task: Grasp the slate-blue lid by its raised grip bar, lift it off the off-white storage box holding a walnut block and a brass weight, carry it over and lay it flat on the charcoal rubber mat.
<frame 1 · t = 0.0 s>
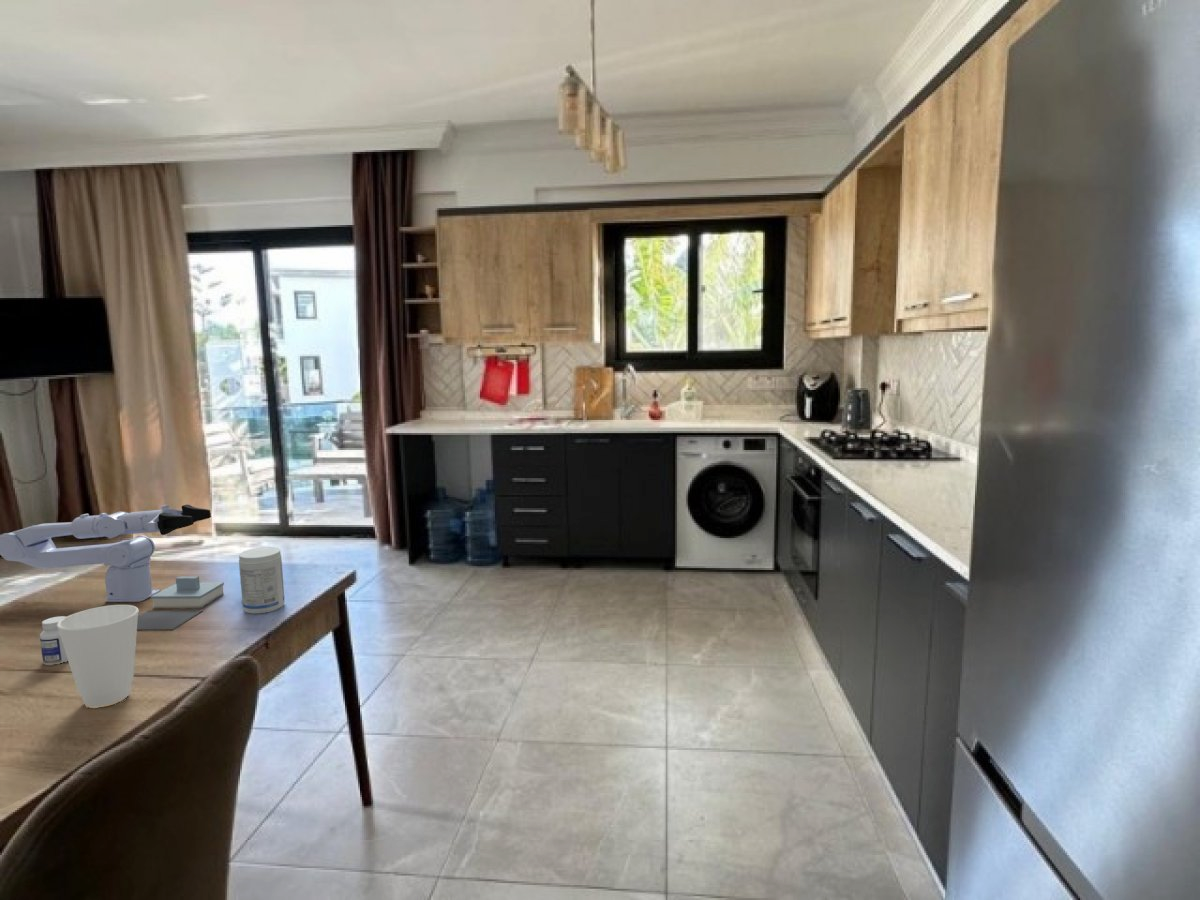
hand: (201, 517, 169), 22 cm above the table, tool horizontal, fingers open, 7 cm apart
mat: (160, 620, 156), on the table
cup: (107, 700, 120), on the table
pill bottle: (59, 661, 135), on the table
storage box: (189, 600, 169), on the table
supplement tub: (264, 608, 164), on the table
lid: (188, 591, 169), point 3 cm above the table, touching storage box
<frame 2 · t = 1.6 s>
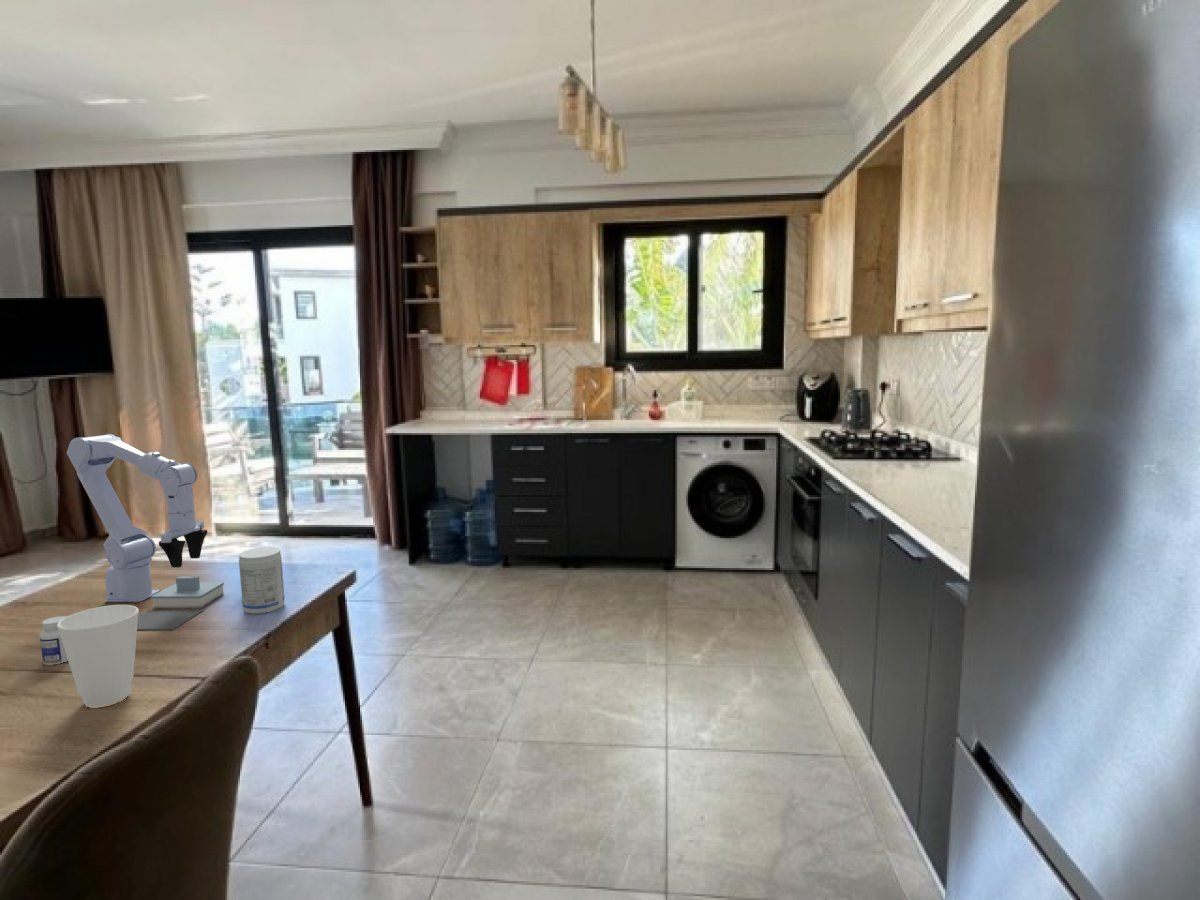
hand: (186, 562, 168), 10 cm above the table, tool pointing down, fingers open, 7 cm apart
nothing on the table moved.
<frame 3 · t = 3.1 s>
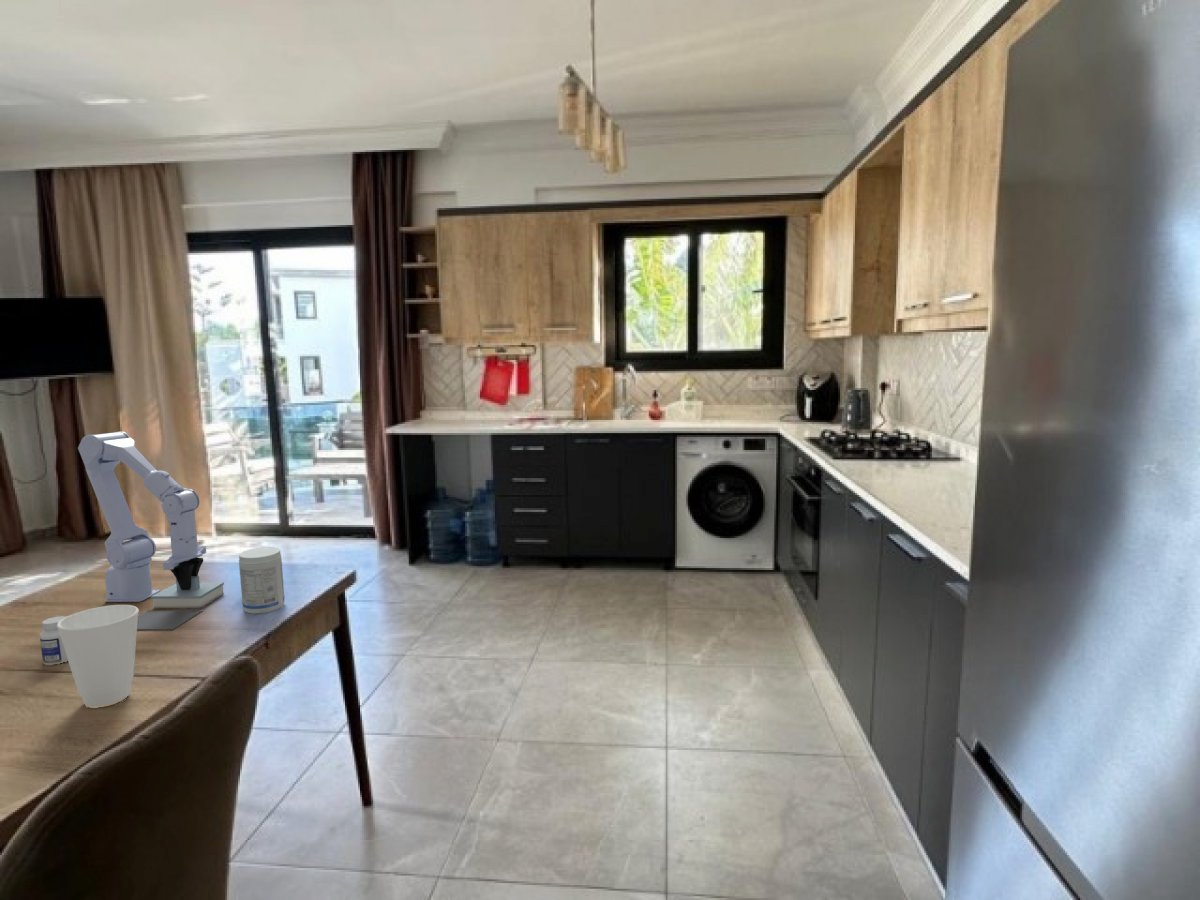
hand: (188, 588, 169), 4 cm above the table, tool pointing down, fingers closed on lid, 2 cm apart
lid: (188, 591, 169), point 3 cm above the table, touching gripper, storage box
everything else where it was.
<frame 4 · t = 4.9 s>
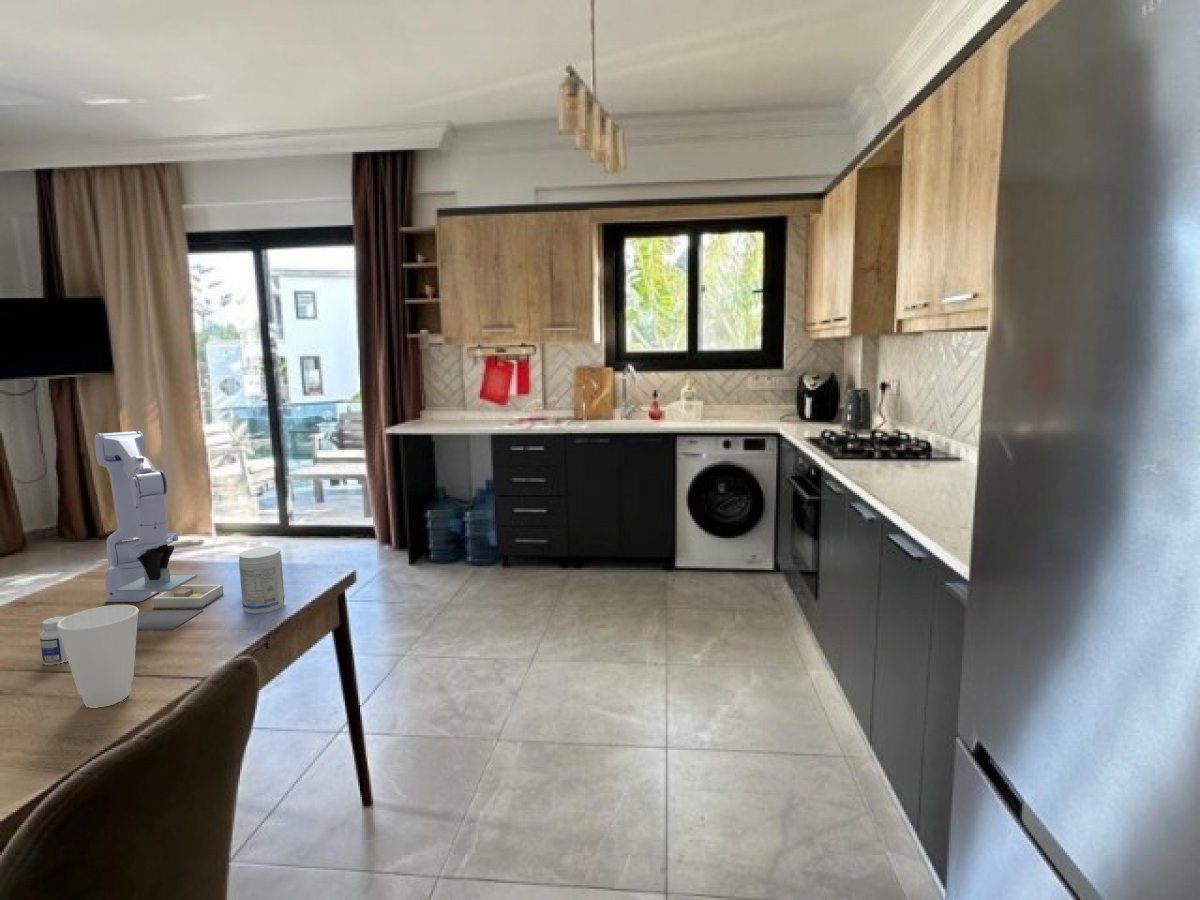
hand: (157, 578, 155), 10 cm above the table, tool pointing down, fingers closed on lid
lid: (158, 584, 156), point 9 cm above the table, touching gripper
everything else where it was.
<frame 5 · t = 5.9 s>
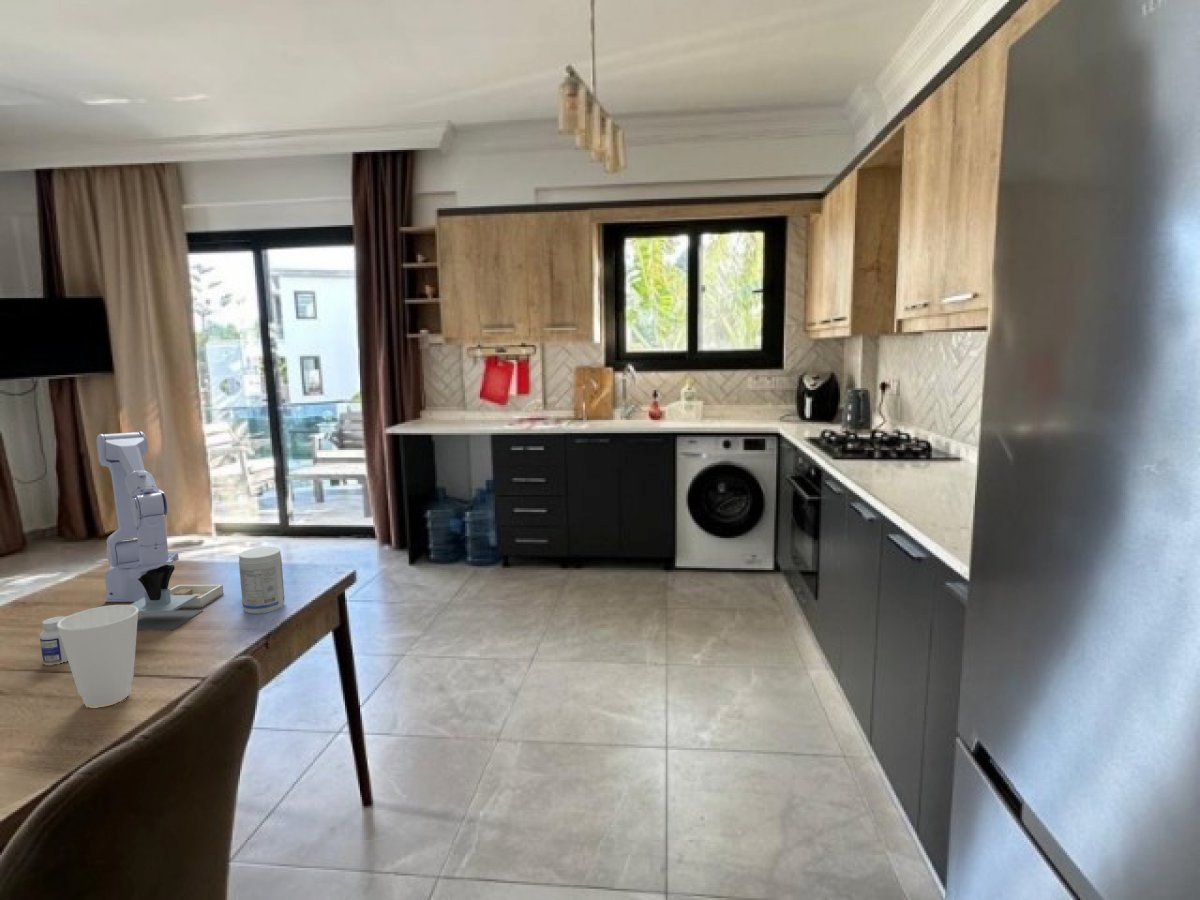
hand: (158, 598, 155), 6 cm above the table, tool pointing down, fingers closed on lid, 2 cm apart
lid: (158, 605, 156), point 4 cm above the table, touching gripper
everything else where it was.
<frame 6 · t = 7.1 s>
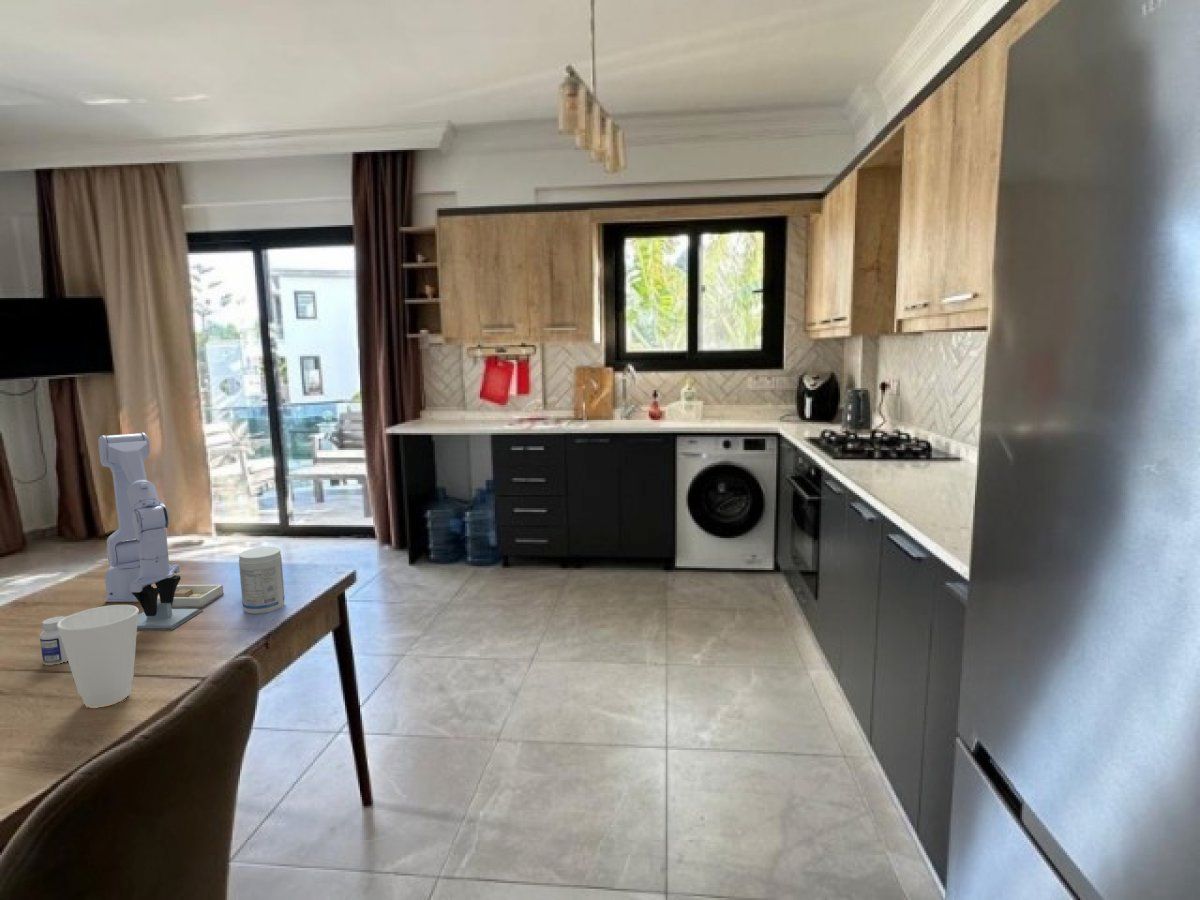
hand: (159, 610, 156), 2 cm above the table, tool pointing down, fingers open, 5 cm apart
lid: (159, 619, 156), resting on mat
everything else where it was.
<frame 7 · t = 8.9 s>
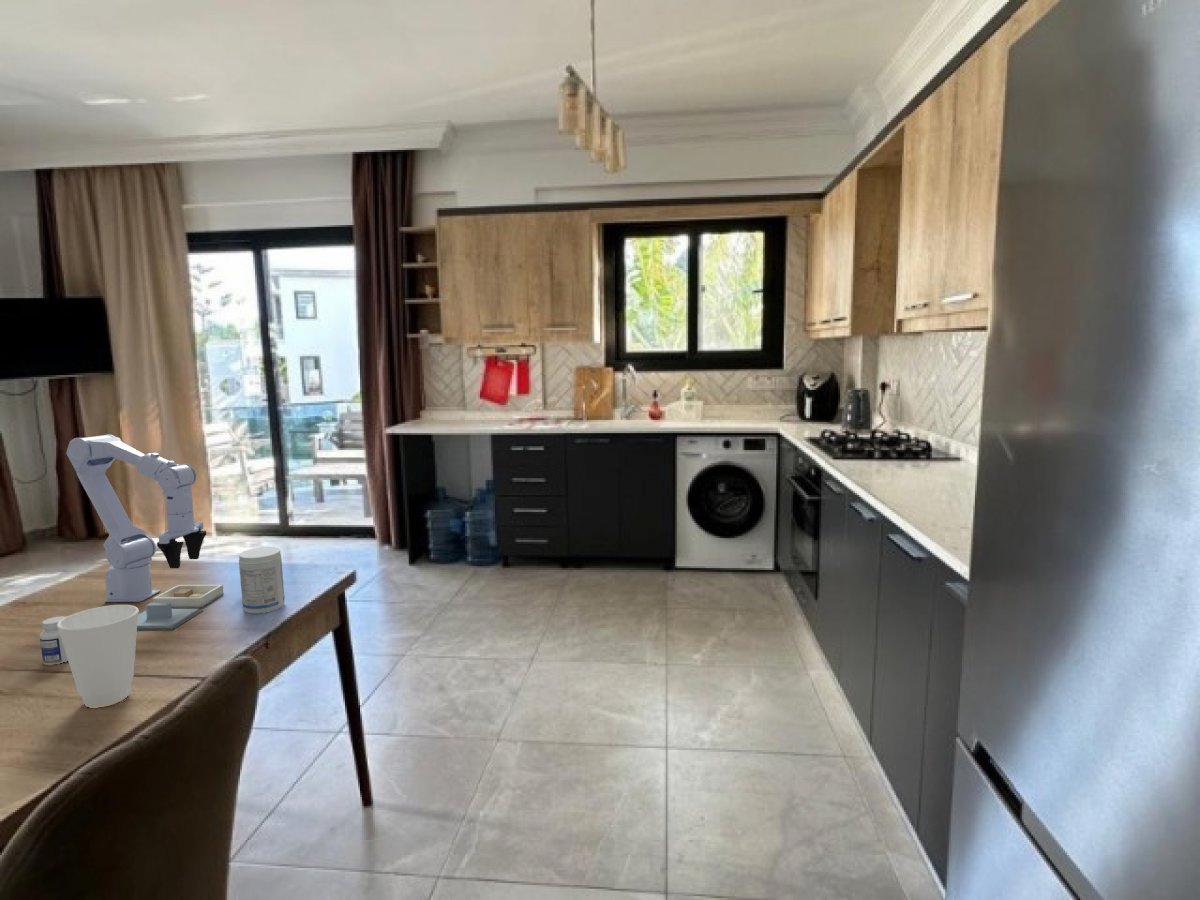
hand: (184, 563, 168), 10 cm above the table, tool pointing down, fingers open, 7 cm apart
nothing on the table moved.
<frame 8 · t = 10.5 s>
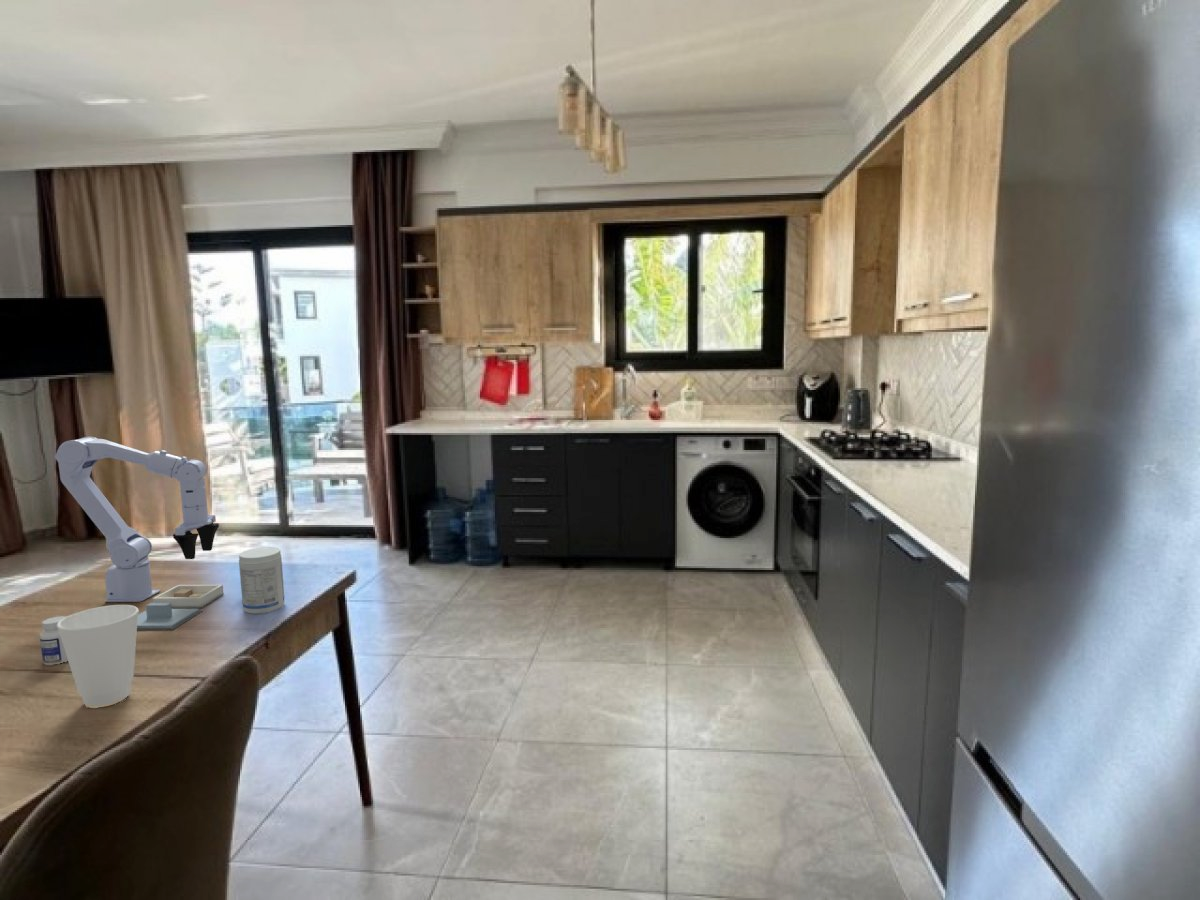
hand: (198, 554, 175), 10 cm above the table, tool pointing down, fingers open, 7 cm apart
nothing on the table moved.
at the end: lid inside the target area on the mat (0.0 cm from its centre), point 0.3 cm above the mat's base; lid tilted 0°; the gripper is holding nothing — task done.
